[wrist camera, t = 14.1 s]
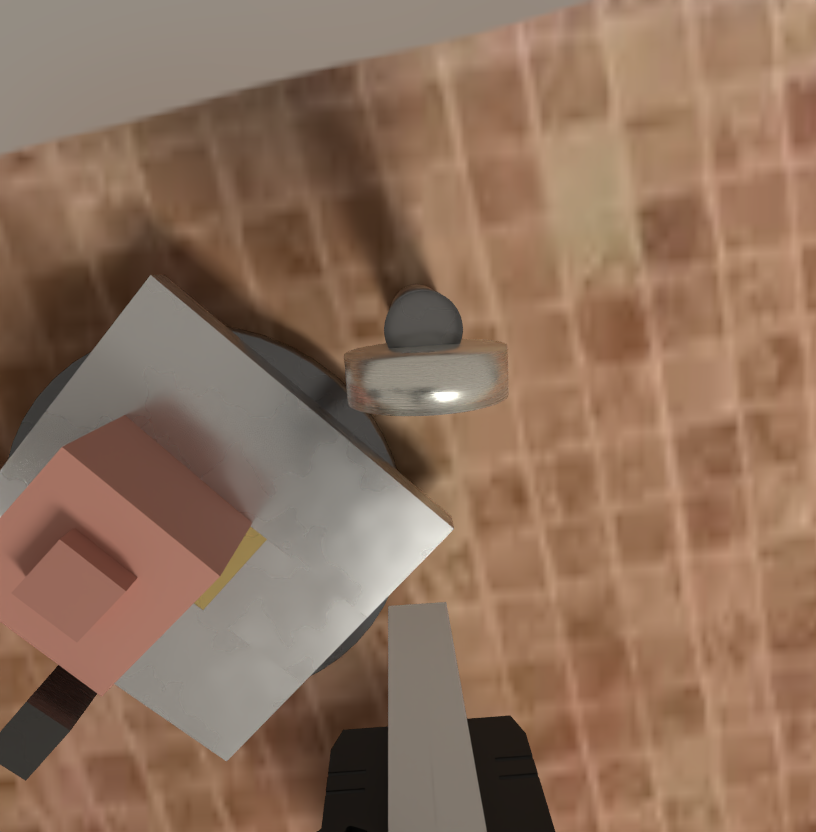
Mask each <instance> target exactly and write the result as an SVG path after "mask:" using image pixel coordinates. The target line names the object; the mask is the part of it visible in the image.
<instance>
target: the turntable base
mask: <svg viewBox="0 0 816 832" xmlns="http://www.w3.org/2000/svg"><path fill="white" fill-rule="evenodd" d="M227 328H228V329H230V330H231V331H232V332H233V333H234V334H236V335H237V336H238V337H239V338H240V339H241V340H243V341H244V342H245V343H246V344H247V345H249V346H250V347H251V348H252V349H253V350H255V351H256V352H257V353H258V354H259V355H261V356H262V357H263V358H264V359H265V360H266V361H268V362H269V363H270V364H271V365H272V366H274V367H275V368H276V369H277V370H278V371H280V372H281V373H282V374H283V375H284V376H285V377H287V378H288V379H289V380H290V381H291V382H293V383H294V384H295V385H296V386H297V387H299V388H300V389H301V390H302V391H303V392H305V393H306V394H307V395H308V396H309V397H310V398H312V399H313V400H314V401H315V402H316V403H318V404H319V405H320V406H321V407H322V408H324V409H325V410H326V411H327V412H328V413H329V414H331V415H332V416H333V417H334V418H335V419H337V420H338V421H339V422H340V423H341V424H343V425H344V426H345V427H346V428H347V429H349V430H350V431H351V432H352V433H353V434H354V435H356V436H357V437H358V438H359V439H360V440H362V441H363V442H364V443H365V444H366V445H368V446H369V447H370V448H371V449H372V450H373V451H375V452H376V453H377V454H378V455H379V456H381V457H382V458H383V459H384V460H385V461H387V462H388V463H389V464H390V465H391V466H393V467H394V468H395V469H396V470H397V468H396V465H395V461H394V458H393V456H392V453H391V451H390V449H389V446H388V444H387V442H386V440H385V437H384V435H383V434H382V432H381V430H380V429H379V427H378V425H377V424H376V422H375V420H374V419H373V417H372V415H371V414H370V413H366V412H361V411H358V410H355V409H353V408H351V407H350V406H349V405H348V398H347V386H346V385H345V384H344V383H343V382H342V381H341V380H340V379H339V378H338V377H336V376H335V375H334V374H333V373H331V372H330V371H329V370H327V369H326V368H325V367H323V366H322V365H321V364H319V363H318V362H317V361H315V360H314V359H312V358H310V357H309V356H307V355H305V354H303V353H301V352H300V351H298V350H296V349H294V348H293V347H291V346H289V345H286V344H284V343H281V342H279V341H276V340H274V339H272V338H269V337H267V336H264V335H260V334H256V333H252V332H249V331H245V330H241V329H236V328H229V327H227ZM90 353H91V352H90ZM90 353H88V354H87V355H85V356H83V357H82V358H80V359H78V360H77V361H75V362H74V363H72V364H71V365H70V366H69V367H68V368H66V369H65V370H64V371H63V372H62V373H60V374H59V375H58V376H57V377H56V378H54V379H53V380H52V382H51V383H50V384H49V385H48V386H47V387H46V388H45V389H44V391H43V392H42V393H41V394H40V395H39V396H38V397H37V399H36V400H35V402H34V403H33V405H32V406H31V408H30V409H29V411H28V413H27V414H26V416H25V417H24V419H23V421H22V423H21V425H20V427H19V430H18V432H17V434H16V436H15V439H14V441H13V444H12V448H11V451H10V455H9V458H10V457H11V456H12V454H13V453H14V452H15V451H16V449H17V448H18V447H19V445H20V444H21V443H22V441H23V440H24V439H25V438H26V436H27V435H28V434H29V432H30V431H31V430H32V428H33V427H34V426H35V425H36V423H37V422H38V421H39V419H40V418H41V417H42V415H43V414H44V413H45V412H46V410H47V409H48V408H49V406H50V405H51V404H52V402H53V401H54V400H55V399H56V397H57V396H58V395H59V393H60V392H61V391H62V389H63V388H64V387H65V386H66V384H67V383H68V382H69V380H70V379H71V378H72V376H73V375H74V374H75V373H76V371H77V370H78V369H79V367H80V366H81V365H82V363H83V362H84V361H85V360H86V358H87V357H88V356H89V354H90ZM9 458H8V460H9ZM387 598H388V597H387ZM387 598H386V599H385V600H384V601H383V602H382V603H381V604H380V605H379V606H378V607H377V608H376V609H375V610H374V611H373V612H372V613H371V614H370V615H369V616H368V617H367V618H366V619H365V620H364V621H363V622H362V623H361V624H360V625H359V626H358V628H357V629H356V630H355V631H354V632H353V633H352V634H351V635H350V636H349V637H348V638H347V639H346V640H345V641H344V642H343V643H342V644H341V645H340V646H339V647H338V648H337V649H336V650H335V651H334V652H333V653H332V654H331V655H330V656H329V657H328V658H327V659H326V660H325V661H324V662H323V663H322V664H321V665H320V666H319V667H318V668H317V669H316V670H315V671H314V672H313V674H315V673H317V672H319V671H321V670H322V669H324V668H325V667H327V666H328V665H330V664H331V663H333V662H334V661H336V660H337V659H339V658H340V657H341V656H342V655H343V654H344V653H346V652H347V651H348V650H349V649H350V648H351V647H352V646H353V645H354V644H356V643H357V642H358V640H359V639H360V638H361V637H362V636H363V635H364V633H365V632H366V631H367V630H368V629H369V628H370V626H371V625H372V624H373V622H374V621H375V619H376V617H377V616H378V614H379V613H380V611H381V610H382V608H383V607H384V605H385V603H386V600H387ZM313 674H312V675H313Z"/></svg>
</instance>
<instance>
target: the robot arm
mask: <svg viewBox="0 0 816 832" xmlns="http://www.w3.org/2000/svg"><path fill="white" fill-rule="evenodd" d="M317 832H555V829H554V826H553V823H552V819H551V816H550V813H549V809H548V806H547V803H546V799H545V796H544V793H543V789H542V786H541V783H540V779H539V777H538V773H537V769H536V766H535V763H534V759H533V758H532V753H531V749H530V746H529V743H528V739H527V736H526V733H525V732H524V731H523V730H522V729H521V727H520V726H519V725H518V724H517V723H516V722H515V720H514V719H513V718H512V717H511V716H498V717H485V718H472V719H467V717H466V711H465V706H464V700H463V694H462V689H461V683H460V677H459V672H458V666H457V661H456V655H455V649H454V644H453V638H452V632H451V627H450V621H449V615H448V610H447V604H446V602H440V603H426V604H412V605H398V606H388V727H375V728H362V729H349V730H343V731H342V733H341V734H340V736H339V738H338V739H337V741H336V743H335V744H334V746H333V747H332V749H331V754H330V762H329V771H328V779H327V787H326V796H325V803H324V812H323V820H322V828H321V829H320V830H319V831H317Z"/></svg>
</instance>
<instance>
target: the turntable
mask: <svg viewBox="0 0 816 832" xmlns="http://www.w3.org/2000/svg"><path fill="white" fill-rule="evenodd" d="M123 415H126V416H127V417H128V418H129V419H130V420H131V421H133V422H134V423H135V424H136V425H137V426H139V427H140V428H141V429H142V430H143V431H144V432H146V433H147V434H148V435H149V436H150V437H151V438H153V439H154V440H155V441H156V442H157V443H159V444H160V445H161V446H162V447H163V448H164V449H166V450H167V451H168V452H169V453H170V454H172V455H173V456H174V457H175V458H176V459H177V460H179V461H180V462H181V463H182V464H183V465H185V466H186V467H187V468H188V469H189V470H190V471H192V472H193V473H194V474H195V475H196V476H198V477H199V478H200V479H201V480H202V481H203V482H205V483H206V484H207V485H208V486H209V487H210V488H212V489H213V490H214V491H215V492H216V493H218V494H219V495H220V496H221V497H222V498H223V499H225V500H226V501H227V502H228V503H229V504H231V505H232V506H233V507H234V508H235V509H236V510H238V511H239V512H240V513H241V514H242V515H244V516H245V517H246V518H247V519H248V520H249V521H251V522H252V525H251V526H250V528H249V530H248V531H247V533H246V535H245V536H244V538H243V540H242V541H241V543H240V544H239V546H238V548H237V549H236V551H235V553H234V554H233V556H232V558H231V559H230V561H229V563H228V564H227V566H226V568H225V569H224V571H223V573H222V574H221V576H220V577H219V578H218V579H217V580H216V581H215V582H214V583H213V584H212V585H211V586H210V587H209V588H208V589H207V590H206V591H205V592H204V593H203V594H202V595H201V596H200V597H199V598H198V599H197V600H196V601H195V602H194V603H193V604H192V605H191V607H190V608H189V609H188V610H187V611H186V612H185V613H184V614H183V615H182V616H181V617H180V618H179V619H178V620H177V621H176V622H175V623H174V624H173V625H172V626H171V627H170V628H169V629H168V630H167V631H166V632H165V633H164V634H163V635H162V636H161V637H160V638H159V639H158V640H157V641H156V642H155V643H154V644H153V645H152V646H151V647H150V648H149V649H148V650H147V651H146V652H145V653H144V654H143V655H142V656H141V657H140V658H139V659H138V660H137V661H136V662H135V663H134V664H133V665H132V666H131V667H130V668H129V669H128V670H127V671H126V672H125V673H124V674H123V675H122V676H121V677H120V678H119V679H118V680H117V681H116V682H115V683H114V684H115V685H117V686H118V687H120V688H121V689H123V690H124V691H125V692H127V693H128V694H130V695H131V696H133V697H134V698H136V699H137V700H138V701H140V702H141V703H143V704H144V705H146V706H147V707H149V708H150V709H152V710H153V711H154V712H156V713H157V714H159V715H160V716H162V717H163V718H165V719H166V720H167V721H169V722H170V723H172V724H173V725H175V726H176V727H178V728H179V729H180V730H182V731H183V732H185V733H186V734H188V735H189V736H191V737H192V738H194V739H195V740H196V741H198V742H199V743H201V744H202V745H204V746H205V747H207V748H208V749H209V750H211V751H212V752H214V753H215V754H217V755H218V756H220V757H221V758H222V759H224V760H225V761H227V760H228V759H229V758H230V757H231V756H232V755H233V754H234V753H235V752H236V751H237V750H238V749H239V748H240V747H241V746H242V745H243V744H244V743H245V742H246V741H247V740H248V739H249V738H250V737H251V736H252V735H253V734H254V733H255V732H256V731H257V730H258V729H259V728H260V727H261V726H262V725H263V724H264V723H265V722H266V721H267V720H268V719H269V717H270V716H271V715H272V714H273V713H274V712H275V711H276V710H277V709H278V708H279V707H280V706H281V705H282V704H283V703H284V702H285V701H286V700H287V699H288V698H289V697H290V696H291V695H292V694H293V693H294V692H295V691H296V690H297V689H298V688H299V687H300V686H301V685H302V684H303V683H304V682H305V681H306V680H307V679H308V678H309V677H310V676H311V675H312V674H313V672H314V671H315V670H316V669H317V668H318V667H319V666H320V665H321V664H322V663H323V662H324V661H325V660H326V659H327V658H328V657H329V656H330V655H331V654H332V653H333V652H334V651H335V650H336V649H337V648H338V647H339V646H340V645H341V644H342V643H343V642H344V641H345V640H346V639H347V638H348V637H349V636H350V635H351V634H352V633H353V632H354V631H355V630H356V629H357V628H358V626H359V625H360V624H361V623H362V622H363V621H364V620H365V619H366V618H367V617H368V616H369V615H370V614H371V613H372V612H373V611H374V610H375V609H376V608H377V607H378V606H379V605H380V604H381V603H382V602H383V601H384V600H385V599H386V598H387V597H388V596H389V595H390V594H391V593H392V592H393V591H394V590H395V589H396V588H397V587H398V586H399V585H400V584H401V583H402V582H403V580H404V579H405V578H406V577H407V576H408V575H409V574H410V573H411V572H412V571H413V570H414V569H415V568H416V567H417V566H418V565H419V564H420V563H421V562H422V561H423V560H424V559H425V558H426V557H427V556H428V555H429V554H430V553H431V552H432V551H433V550H434V549H435V548H436V547H437V546H438V545H439V544H440V543H441V542H442V541H443V540H444V539H445V538H446V537H447V535H448V534H449V533H450V532H451V531H452V530H453V529H454V526H453V521H452V516H451V515H450V514H448V513H447V512H446V511H445V510H444V509H442V508H441V507H440V506H439V505H438V504H437V503H435V502H434V501H433V500H432V499H431V498H429V497H428V496H427V495H426V494H425V493H423V492H422V491H421V490H420V489H419V488H417V487H416V486H415V485H414V484H413V483H412V482H410V481H409V480H408V479H407V478H406V477H404V476H403V475H402V474H401V473H400V472H398V471H397V470H396V469H395V468H394V467H393V466H391V465H390V464H389V463H388V462H387V461H385V460H384V459H383V458H382V457H381V456H379V455H378V454H377V453H376V452H375V451H373V450H372V449H371V448H370V447H369V446H368V445H366V444H365V443H364V442H363V441H362V440H360V439H359V438H358V437H357V436H356V435H354V434H353V433H352V432H351V431H350V430H349V429H347V428H346V427H345V426H344V425H343V424H341V423H340V422H339V421H338V420H337V419H335V418H334V417H333V416H332V415H331V414H329V413H328V412H327V411H326V410H325V409H324V408H322V407H321V406H320V405H319V404H318V403H316V402H315V401H314V400H313V399H312V398H310V397H309V396H308V395H307V394H306V393H305V392H303V391H302V390H301V389H300V388H299V387H297V386H296V385H295V384H294V383H293V382H291V381H290V380H289V379H288V378H287V377H285V376H284V375H283V374H282V373H281V372H280V371H278V370H277V369H276V368H275V367H274V366H272V365H271V364H270V363H269V362H268V361H266V360H265V359H264V358H263V357H262V356H261V355H259V354H258V353H257V352H256V351H255V350H253V349H252V348H251V347H250V346H249V345H247V344H246V343H245V342H244V341H243V340H241V339H240V338H239V337H238V336H237V335H236V334H234V333H233V332H232V331H231V330H230V329H228V328H227V327H226V326H225V325H224V324H222V323H221V322H220V321H219V320H218V319H217V318H215V317H214V316H213V315H212V314H211V313H209V312H208V311H207V310H206V309H205V308H203V307H202V306H201V305H200V304H199V303H197V302H196V301H195V300H194V299H193V298H192V297H190V296H189V295H188V294H187V293H186V292H184V291H183V290H182V289H181V288H180V287H178V286H177V285H176V284H175V283H174V282H173V281H171V280H170V279H169V278H168V277H167V276H165V275H150V276H149V278H148V279H147V280H146V282H145V283H144V284H143V285H142V287H141V288H140V289H139V291H138V292H137V293H136V295H135V296H134V297H133V298H132V300H131V301H130V302H129V304H128V305H127V306H126V308H125V309H124V310H123V311H122V313H121V314H120V315H119V317H118V318H117V319H116V321H115V322H114V323H113V324H112V326H111V327H110V328H109V330H108V331H107V332H106V334H105V335H104V336H103V337H102V339H101V340H100V341H99V343H98V344H97V345H96V347H95V348H94V349H93V350H92V352H91V353H90V354H89V356H88V357H87V358H86V360H85V361H84V362H83V363H82V365H81V366H80V367H79V369H78V370H77V371H76V373H75V374H74V375H73V376H72V378H71V379H70V380H69V382H68V383H67V384H66V386H65V387H64V388H63V389H62V391H61V392H60V393H59V395H58V396H57V397H56V399H55V400H54V401H53V402H52V404H51V405H50V406H49V408H48V409H47V410H46V412H45V413H44V414H43V415H42V417H41V418H40V419H39V421H38V422H37V423H36V425H35V426H34V427H33V428H32V430H31V431H30V432H29V434H28V435H27V436H26V438H25V439H24V440H23V441H22V443H21V444H20V445H19V447H18V448H17V449H16V451H15V452H14V453H13V454H12V456H11V457H10V458H9V460H8V461H7V462H6V464H5V465H4V466H3V467H2V469H1V470H0V517H1V516H2V515H3V514H4V513H5V512H6V510H7V509H8V508H9V507H10V506H11V505H12V504H13V502H14V501H15V500H16V499H17V498H18V497H19V496H20V494H21V493H22V492H23V491H24V490H25V489H26V487H27V486H28V485H29V484H30V483H31V482H32V481H33V479H34V478H35V477H36V476H37V475H38V474H39V473H40V471H41V470H42V469H43V468H44V467H45V466H46V465H47V463H48V462H49V461H50V460H51V459H52V458H53V457H54V455H55V454H56V453H57V452H58V451H59V450H60V448H61V447H63V446H65V445H67V444H69V443H71V442H72V441H74V440H76V439H78V438H80V437H82V436H84V435H86V434H88V433H90V432H92V431H94V430H96V429H98V428H100V427H102V426H104V425H106V424H108V423H110V422H112V421H114V420H116V419H118V418H120V417H121V416H123ZM96 695H97V693H96V692H95V691H93V690H92V689H91V688H89V687H88V686H87V685H85V684H84V683H82V682H81V681H80V680H78V679H77V678H76V677H74V676H73V675H72V674H70V673H69V672H68V671H66V670H65V669H64V668H62V667H61V666H59V665H58V666H57V667H56V669H55V670H54V671H53V672H52V673H51V674H50V675H49V677H48V678H47V679H46V680H45V681H44V682H43V683H42V685H41V686H40V687H39V688H38V689H37V690H36V691H35V692H34V694H33V695H32V696H31V697H30V698H29V699H28V700H27V702H26V703H25V704H24V705H23V706H22V707H21V709H20V710H19V711H18V712H17V713H16V714H15V716H14V717H13V718H12V719H11V720H10V721H9V722H8V724H7V725H6V726H5V727H4V728H3V729H2V731H1V732H0V764H1V765H2V766H4V767H5V768H7V769H8V770H10V771H11V772H13V773H15V774H16V775H18V776H19V777H21V778H22V779H24V780H27V779H28V778H29V776H30V775H31V774H32V773H33V772H34V771H35V770H36V769H37V767H38V766H39V765H40V764H41V763H42V762H43V761H44V760H45V758H46V757H47V756H48V755H49V754H50V753H51V752H52V751H53V750H54V748H55V747H56V746H57V745H58V744H59V743H60V742H61V741H62V739H63V738H64V737H65V736H66V735H67V734H68V733H69V732H70V730H71V729H72V728H73V726H74V725H75V724H76V722H77V721H78V719H79V718H80V717H81V715H82V714H83V713H84V711H85V710H86V708H87V707H88V706H89V704H90V703H91V702H92V700H93V699H94V697H95V696H96Z"/></svg>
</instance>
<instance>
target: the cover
mask: <svg viewBox="0 0 816 832" xmlns="http://www.w3.org/2000/svg"><path fill="white" fill-rule="evenodd" d="M251 525H252V522H251V521H249V520H248V519H247V518H246V517H245V516H244V515H242V514H241V513H240V512H239V511H238V510H236V509H235V508H234V507H233V506H232V505H231V504H229V503H228V502H227V501H226V500H225V499H223V498H222V497H221V496H220V495H219V494H218V493H216V492H215V491H214V490H213V489H212V488H210V487H209V486H208V485H207V484H206V483H205V482H203V481H202V480H201V479H200V478H199V477H198V476H196V475H195V474H194V473H193V472H192V471H190V470H189V469H188V468H187V467H186V466H185V465H183V464H182V463H181V462H180V461H179V460H177V459H176V458H175V457H174V456H173V455H172V454H170V453H169V452H168V451H167V450H166V449H164V448H163V447H162V446H161V445H160V444H159V443H157V442H156V441H155V440H154V439H153V438H151V437H150V436H149V435H148V434H147V433H146V432H144V431H143V430H142V429H141V428H140V427H139V426H137V425H136V424H135V423H134V422H133V421H131V420H130V419H129V418H128V417H127V416H126V415H123V416H121V417H120V418H118V419H116V420H114V421H112V422H110V423H108V424H106V425H104V426H102V427H100V428H98V429H96V430H94V431H92V432H90V433H88V434H86V435H84V436H82V437H80V438H78V439H76V440H74V441H72V442H71V443H69V444H67V445H65V446H63V447H61V448H60V450H59V451H58V452H57V453H56V454H55V455H54V457H53V458H52V459H51V460H50V461H49V462H48V463H47V465H46V466H45V467H44V468H43V469H42V470H41V471H40V473H39V474H38V475H37V476H36V477H35V478H34V479H33V481H32V482H31V483H30V484H29V485H28V486H27V487H26V489H25V490H24V491H23V492H22V493H21V494H20V496H19V497H18V498H17V499H16V500H15V501H14V502H13V504H12V505H11V506H10V507H9V508H8V509H7V510H6V512H5V513H4V514H3V515H2V516H1V517H0V622H1V623H3V624H4V625H5V626H7V627H8V628H9V629H11V630H12V631H14V632H15V633H16V634H18V635H19V636H20V637H22V638H23V639H24V640H26V641H27V642H28V643H30V644H31V645H32V646H34V647H35V648H37V649H38V650H39V651H41V652H42V653H43V654H45V655H46V656H47V657H49V658H50V659H51V660H53V661H54V662H55V663H57V664H58V665H59V666H61V667H62V668H64V669H65V670H66V671H68V672H69V673H70V674H72V675H73V676H74V677H76V678H77V679H78V680H80V681H81V682H82V683H84V684H85V685H87V686H88V687H89V688H91V689H92V690H93V691H95V692H96V693H97V694H99V695H100V696H101V697H102V696H103V695H104V694H105V693H106V692H107V691H108V690H109V689H110V688H111V687H112V685H113V684H114V683H115V682H116V681H117V680H118V679H119V678H120V677H121V676H122V675H123V674H124V673H125V672H126V671H127V670H128V669H129V668H130V667H131V666H132V665H133V664H134V663H135V662H136V661H137V660H138V659H139V658H140V657H141V656H142V655H143V654H144V653H145V652H146V651H147V650H148V649H149V648H150V647H151V646H152V645H153V644H154V643H155V642H156V641H157V640H158V639H159V638H160V637H161V636H162V635H163V634H164V633H165V632H166V631H167V630H168V629H169V628H170V627H171V626H172V625H173V624H174V623H175V622H176V621H177V620H178V619H179V618H180V617H181V616H182V615H183V614H184V613H185V612H186V611H187V610H188V609H189V608H190V607H191V605H192V604H193V603H194V602H195V601H196V600H197V599H198V598H199V597H200V596H201V595H202V594H203V593H204V592H205V591H206V590H207V589H208V588H209V587H210V586H211V585H212V584H213V583H214V582H215V581H216V580H217V579H218V578H219V577H220V576H221V574H222V573H223V571H224V569H225V568H226V566H227V564H228V563H229V561H230V559H231V558H232V556H233V554H234V553H235V551H236V549H237V548H238V546H239V544H240V543H241V541H242V540H243V538H244V536H245V535H246V533H247V531H248V530H249V528H250V526H251Z"/></svg>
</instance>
